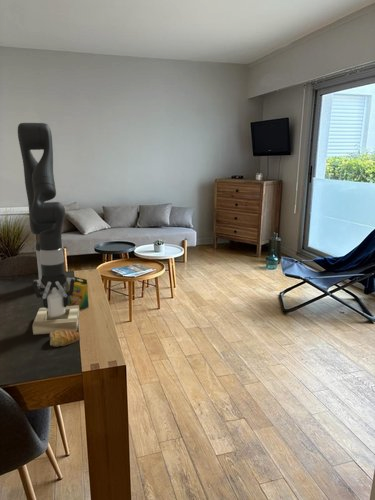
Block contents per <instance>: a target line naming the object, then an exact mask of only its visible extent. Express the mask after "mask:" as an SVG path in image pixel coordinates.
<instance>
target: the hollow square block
mask: <svg viewBox="0 0 375 500" xmlns="http://www.w3.org/2000/svg"><path fill="white" fill-rule="evenodd" d="M79 319H80V308H79V305H76V306H71V305H67V306H66V307H65V314H63V315H61V316H58V317H50V316H49V315H48V309H46V307H40V308H39V309H38V311H37V313H36V316H35V318H34V320H33V323H32V333H33V334H32V335H46V334H50V332H55V331H56V330H57V331H60V330H68V331H76V332H78V327H79Z"/></svg>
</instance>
